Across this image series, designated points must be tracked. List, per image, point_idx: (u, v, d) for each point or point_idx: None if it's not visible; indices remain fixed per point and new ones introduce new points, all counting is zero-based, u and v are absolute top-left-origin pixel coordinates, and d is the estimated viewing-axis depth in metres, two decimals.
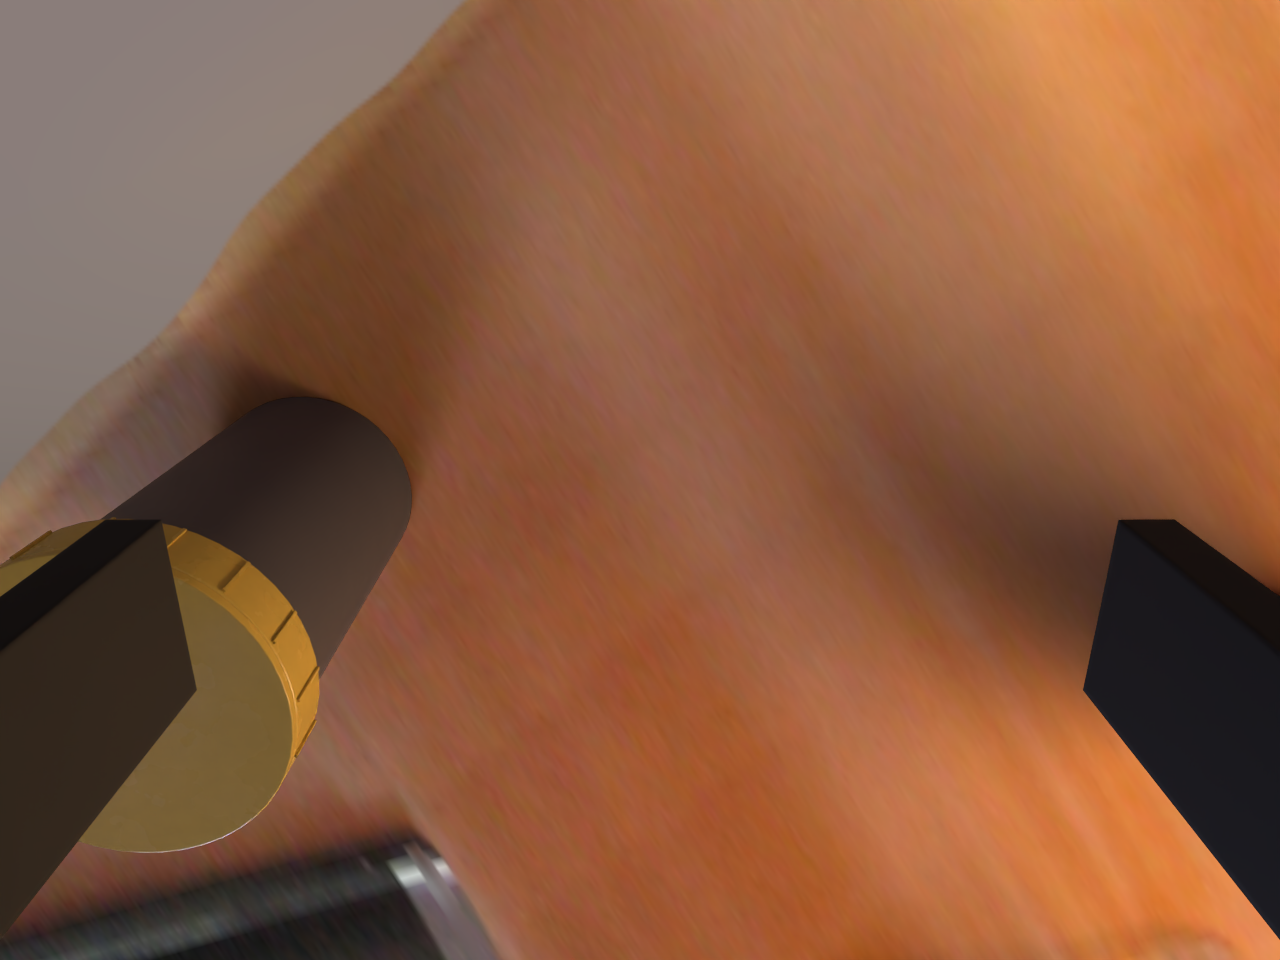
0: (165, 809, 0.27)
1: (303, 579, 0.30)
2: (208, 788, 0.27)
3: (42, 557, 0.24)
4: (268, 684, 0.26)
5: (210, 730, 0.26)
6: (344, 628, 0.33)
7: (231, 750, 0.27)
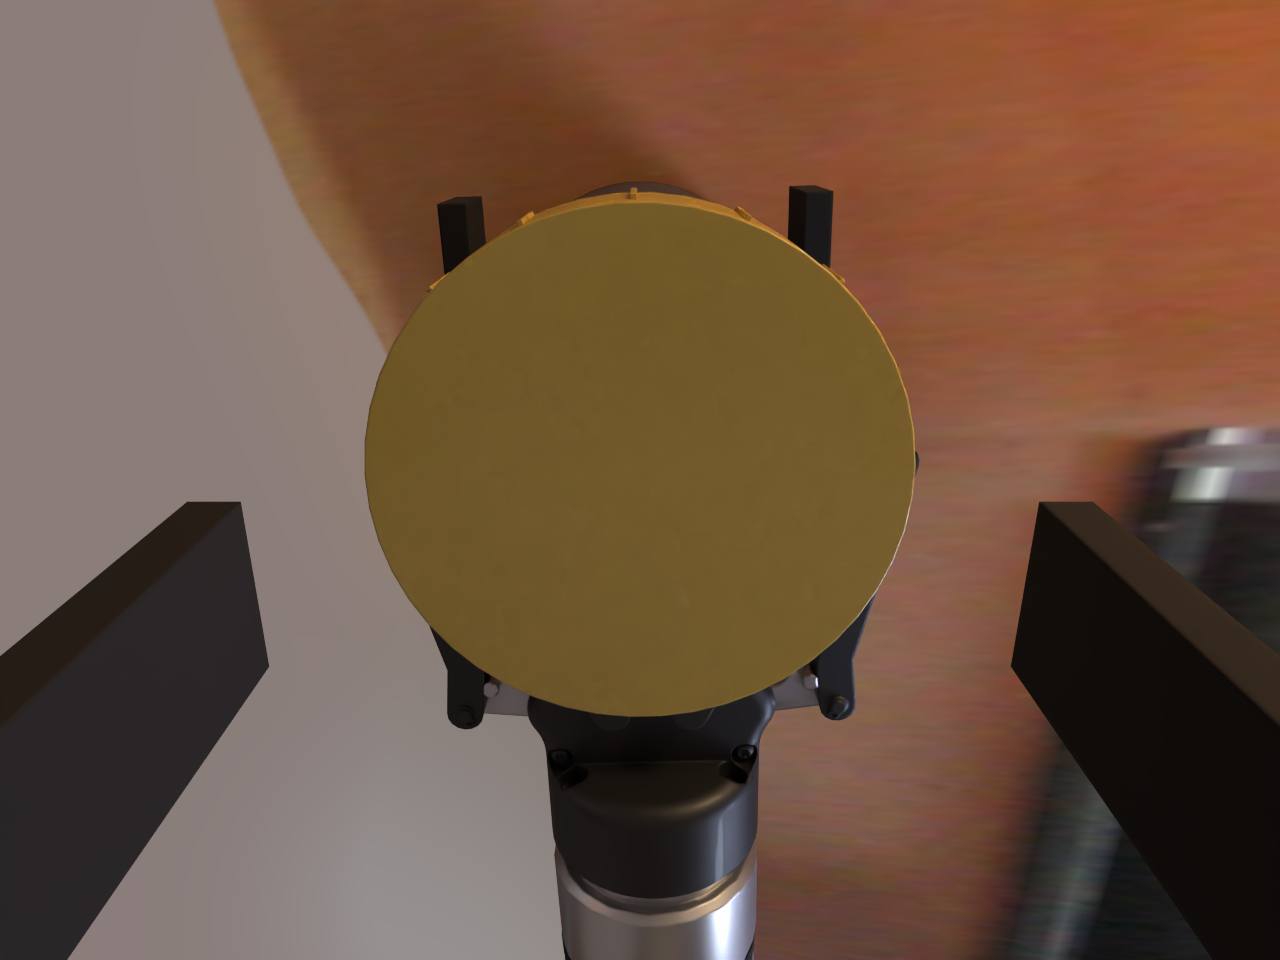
0: (825, 513, 0.17)
1: None
2: (822, 432, 0.17)
3: (367, 430, 0.17)
4: (689, 231, 0.15)
5: (727, 368, 0.16)
6: None
7: (775, 358, 0.16)
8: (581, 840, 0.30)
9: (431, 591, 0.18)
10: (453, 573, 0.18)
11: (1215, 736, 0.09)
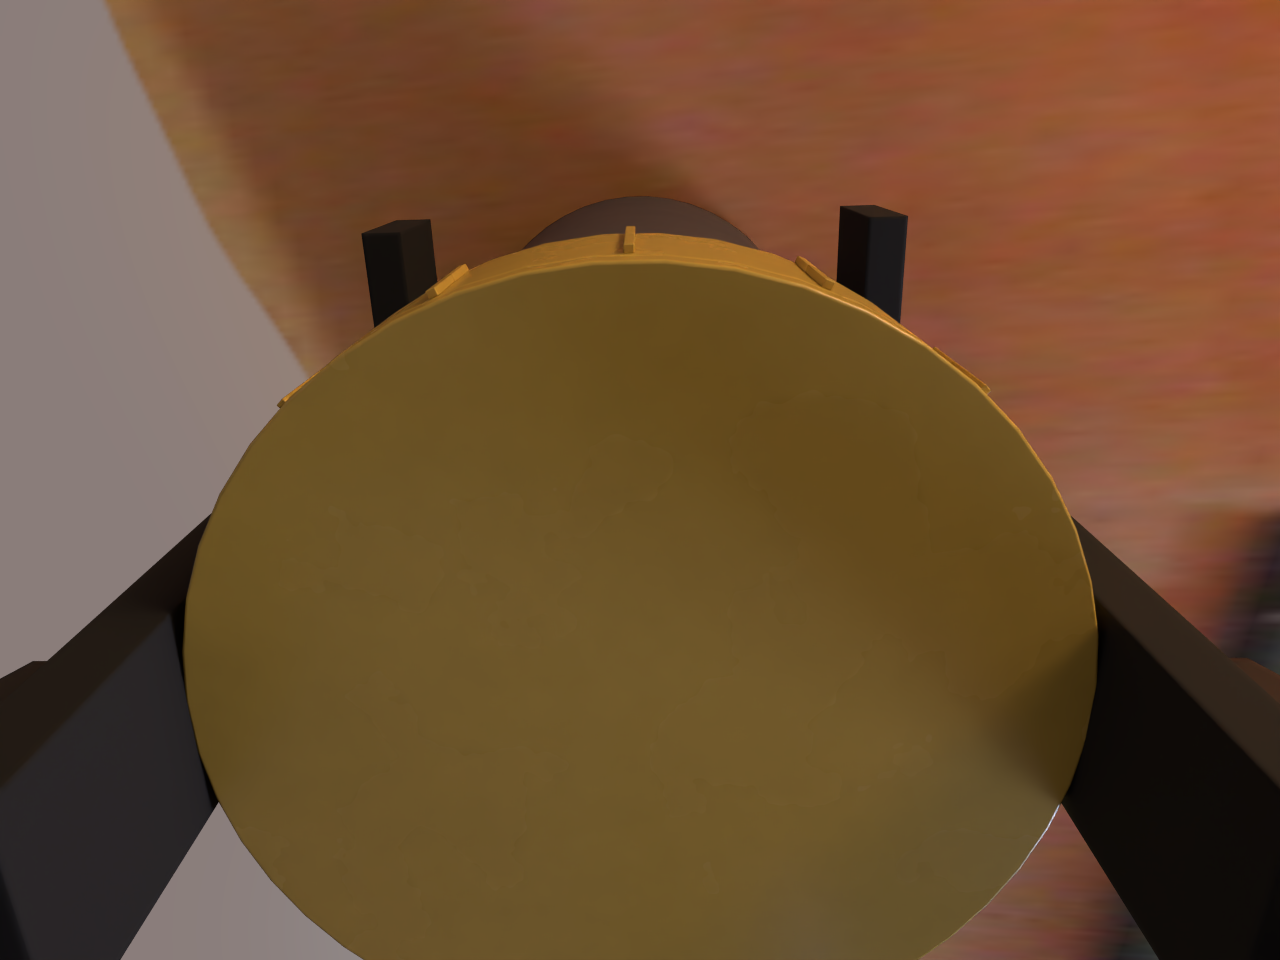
0: (943, 759, 0.10)
1: None
2: (945, 637, 0.10)
3: (184, 634, 0.10)
4: (728, 311, 0.09)
5: (789, 538, 0.09)
6: None
7: (871, 521, 0.09)
8: None
9: (306, 869, 0.11)
10: (340, 844, 0.11)
11: (1143, 715, 0.09)
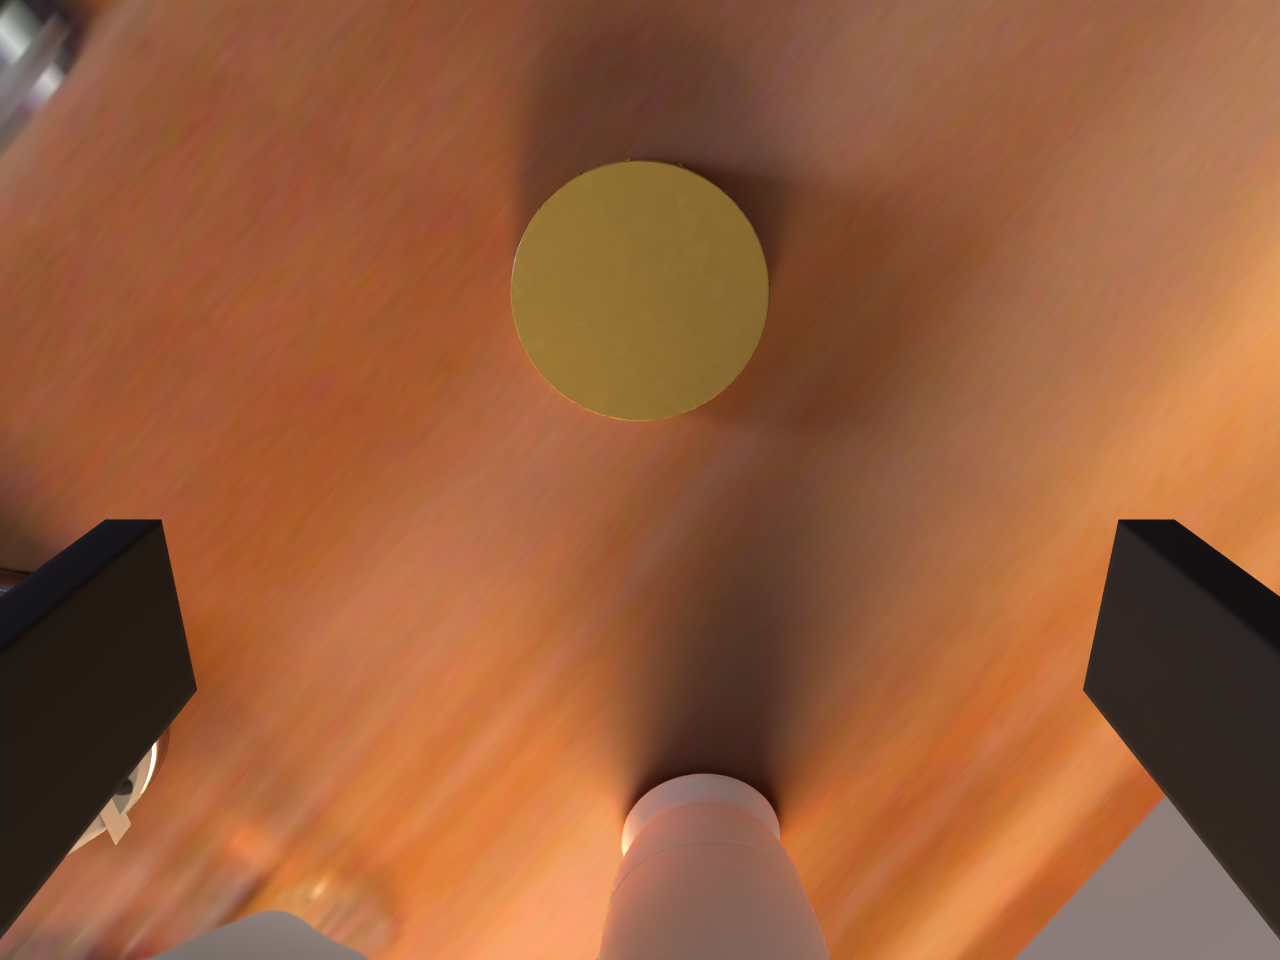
0: (632, 384, 0.37)
1: None
2: (671, 377, 0.37)
3: (661, 164, 0.34)
4: (757, 311, 0.36)
5: (698, 333, 0.36)
6: None
7: (704, 353, 0.37)
8: None
9: (576, 193, 0.35)
10: (587, 205, 0.35)
11: None
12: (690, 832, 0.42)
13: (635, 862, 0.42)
